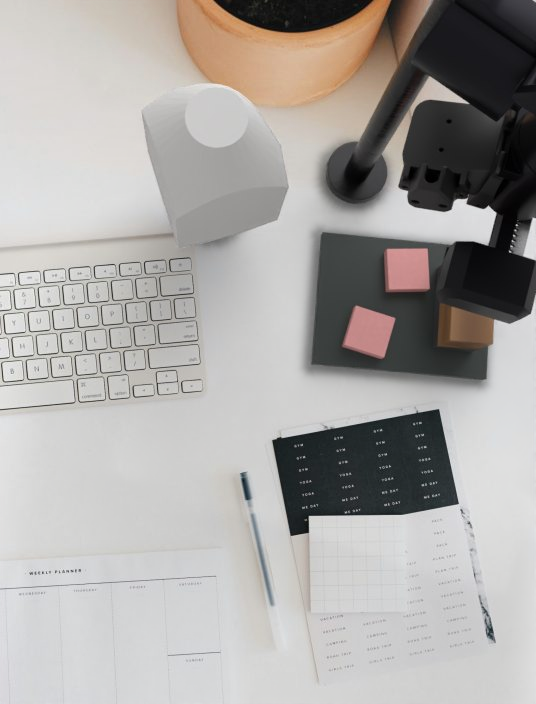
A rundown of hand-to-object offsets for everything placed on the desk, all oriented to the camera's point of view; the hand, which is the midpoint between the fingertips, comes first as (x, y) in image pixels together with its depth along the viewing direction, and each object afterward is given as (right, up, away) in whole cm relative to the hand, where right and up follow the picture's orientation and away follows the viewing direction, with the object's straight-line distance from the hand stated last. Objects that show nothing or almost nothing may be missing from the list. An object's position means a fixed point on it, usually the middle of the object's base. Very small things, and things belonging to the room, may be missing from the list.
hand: (468, 221), depth 60 cm
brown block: (+3, -6, +12) cm, 14 cm away
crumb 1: (-6, -8, +12) cm, 16 cm away
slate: (-2, -6, +13) cm, 15 cm away
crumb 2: (-2, -2, +13) cm, 13 cm away
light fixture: (-21, +4, +13) cm, 25 cm away
